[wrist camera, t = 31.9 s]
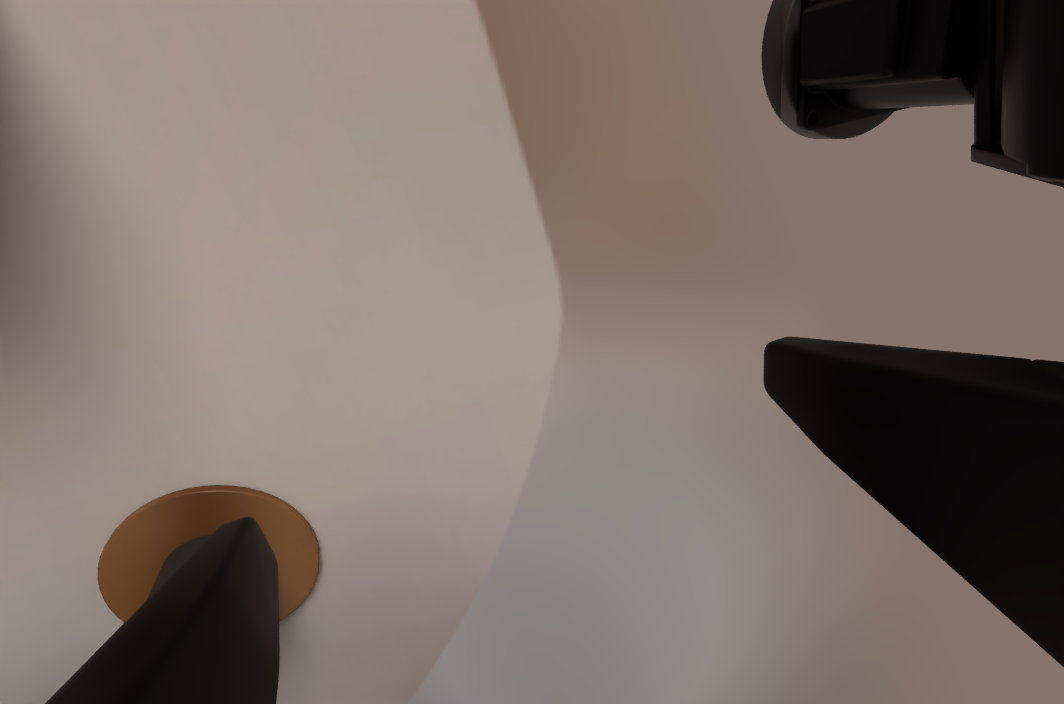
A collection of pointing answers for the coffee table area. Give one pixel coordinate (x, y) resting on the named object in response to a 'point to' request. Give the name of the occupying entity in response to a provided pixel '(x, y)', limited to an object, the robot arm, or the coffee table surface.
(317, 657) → the coffee table surface
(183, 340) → the coffee table surface
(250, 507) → the coaster
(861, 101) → the robot arm
